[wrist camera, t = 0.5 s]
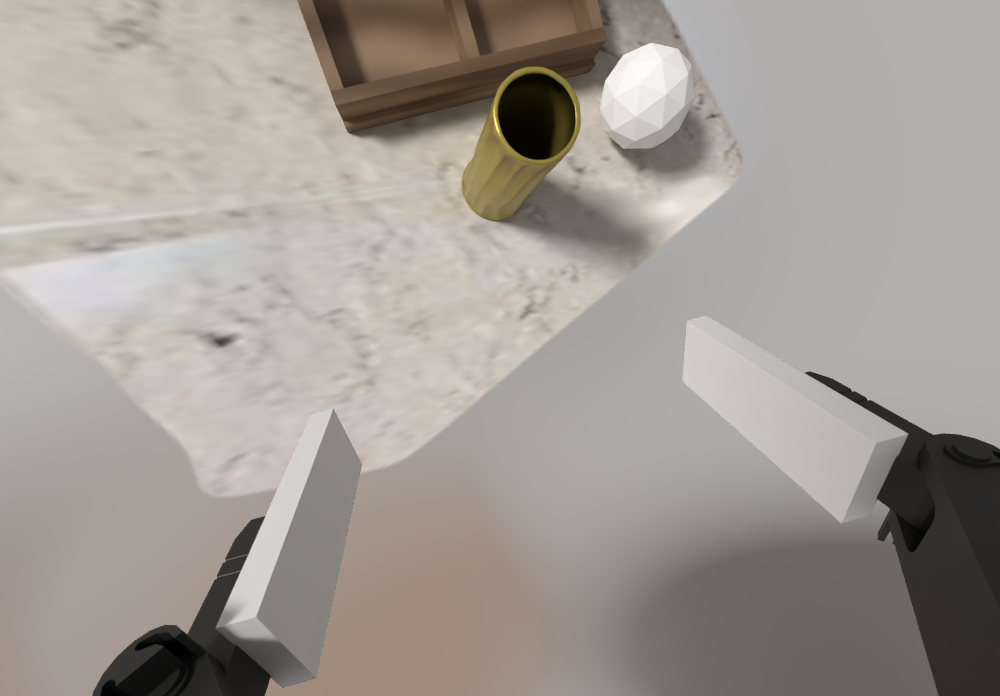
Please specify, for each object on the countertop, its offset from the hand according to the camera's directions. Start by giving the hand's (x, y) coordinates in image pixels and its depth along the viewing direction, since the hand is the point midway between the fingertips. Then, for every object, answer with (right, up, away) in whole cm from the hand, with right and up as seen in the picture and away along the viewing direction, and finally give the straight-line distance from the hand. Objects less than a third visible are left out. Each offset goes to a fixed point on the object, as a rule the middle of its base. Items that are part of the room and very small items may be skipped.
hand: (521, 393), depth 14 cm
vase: (-1, +17, +21) cm, 27 cm away
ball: (+11, +24, +23) cm, 35 cm away
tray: (-5, +30, +18) cm, 36 cm away
